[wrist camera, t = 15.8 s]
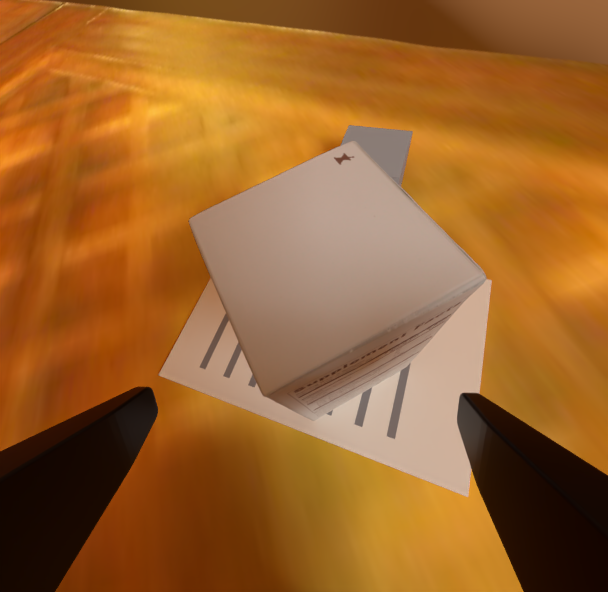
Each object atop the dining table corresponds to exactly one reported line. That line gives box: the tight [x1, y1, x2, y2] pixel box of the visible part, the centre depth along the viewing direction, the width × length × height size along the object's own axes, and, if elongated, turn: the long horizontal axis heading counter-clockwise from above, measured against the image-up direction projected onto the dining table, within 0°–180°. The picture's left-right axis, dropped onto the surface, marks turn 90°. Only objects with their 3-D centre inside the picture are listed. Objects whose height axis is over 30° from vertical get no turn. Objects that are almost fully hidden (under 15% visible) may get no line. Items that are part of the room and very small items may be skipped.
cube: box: [341, 125, 413, 187], centre depth 24 cm, size 5×5×5 cm
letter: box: [159, 278, 492, 497], centre depth 21 cm, size 14×21×1 cm, turn 71°
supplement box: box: [189, 141, 486, 421], centre depth 15 cm, size 7×7×13 cm
